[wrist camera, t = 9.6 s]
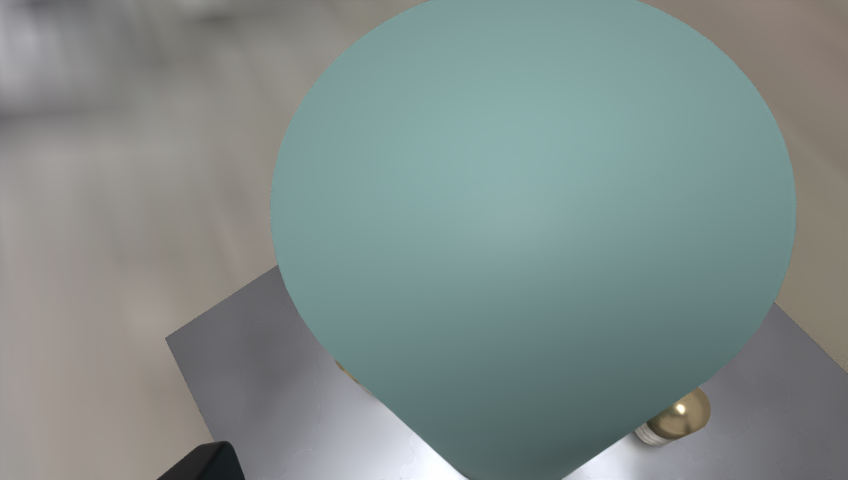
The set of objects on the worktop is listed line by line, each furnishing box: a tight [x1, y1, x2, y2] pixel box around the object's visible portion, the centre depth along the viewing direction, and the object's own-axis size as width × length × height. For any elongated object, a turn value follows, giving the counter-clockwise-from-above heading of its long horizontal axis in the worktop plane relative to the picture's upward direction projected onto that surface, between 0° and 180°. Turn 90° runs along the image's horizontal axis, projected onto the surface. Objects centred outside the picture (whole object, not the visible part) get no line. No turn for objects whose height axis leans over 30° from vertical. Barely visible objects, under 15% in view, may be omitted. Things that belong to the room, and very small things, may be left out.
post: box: [270, 0, 796, 480], centre depth 12 cm, size 5×5×13 cm
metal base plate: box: [165, 265, 848, 480], centre depth 17 cm, size 16×16×4 cm
